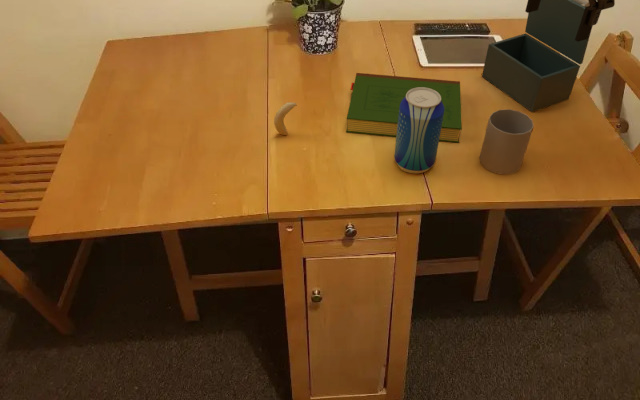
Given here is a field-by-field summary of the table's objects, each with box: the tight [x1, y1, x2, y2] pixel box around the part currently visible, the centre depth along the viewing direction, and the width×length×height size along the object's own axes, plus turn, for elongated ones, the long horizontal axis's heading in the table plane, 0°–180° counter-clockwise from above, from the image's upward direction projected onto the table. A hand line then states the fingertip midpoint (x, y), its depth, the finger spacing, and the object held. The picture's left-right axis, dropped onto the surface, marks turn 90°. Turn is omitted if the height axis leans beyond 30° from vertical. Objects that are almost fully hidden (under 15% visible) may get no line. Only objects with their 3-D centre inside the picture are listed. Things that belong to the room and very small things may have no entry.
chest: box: [481, 32, 581, 113], centre depth 137 cm, size 12×18×9 cm, turn 28°
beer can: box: [393, 87, 444, 175], centre depth 114 cm, size 8×8×16 cm
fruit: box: [273, 101, 298, 136], centre depth 123 cm, size 4×8×2 cm
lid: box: [524, 0, 593, 65], centre depth 132 cm, size 12×18×6 cm
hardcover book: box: [345, 72, 463, 144], centre depth 131 cm, size 25×19×4 cm
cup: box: [479, 108, 534, 175], centre depth 116 cm, size 8×8×10 cm
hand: (555, 24), depth 114 cm, fingers open, 13 cm apart
